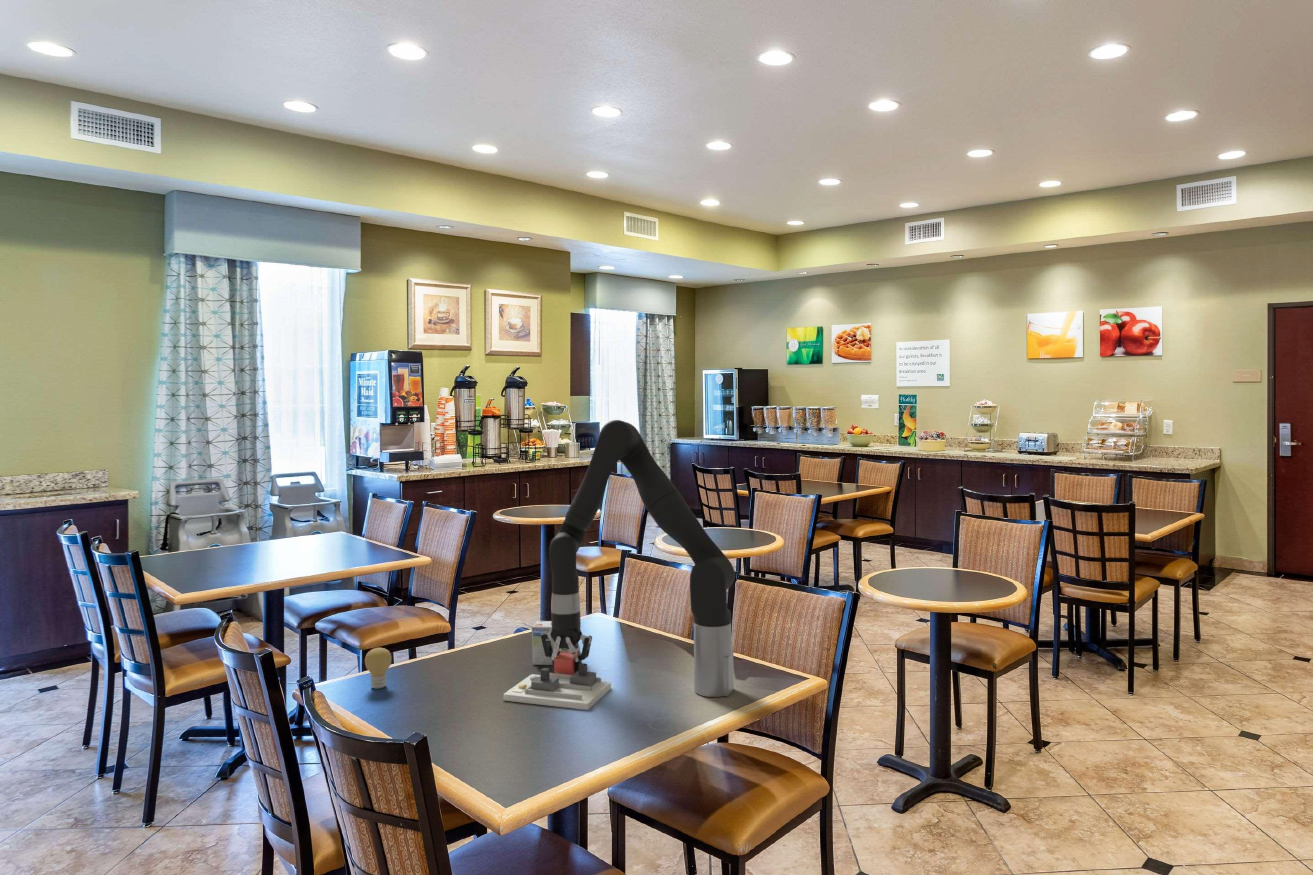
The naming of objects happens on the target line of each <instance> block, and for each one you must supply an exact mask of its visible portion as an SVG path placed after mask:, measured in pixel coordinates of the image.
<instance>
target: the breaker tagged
mask: <svg viewBox="0 0 1313 875" xmlns="http://www.w3.org/2000/svg"><path fill="white" fill-rule="evenodd" d="M540 675H541V676H539V677H538V678H536V679H535V680H534V681H532V682H531V689H534V690H543V691H553V692H554V691H555V690H556V689H558V688H559V677H550V668H548V667H543V668H541V669H540Z"/></svg>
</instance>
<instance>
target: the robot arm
mask: <svg viewBox="0 0 1313 875" xmlns="http://www.w3.org/2000/svg"><path fill="white" fill-rule="evenodd" d="M619 461H620V462H621V463H622V464H623V465H624V467H625V469H626V470H627V471H628V472H629V474H630V475H631V477H632V479H633V480H634V484H635V485H636V488H637V492H638V494H639V496H640V499H641V501H642V503H643V505H644V507H645V509H646V510H647V512H648V514H650V516H651V518H652V519H653V521H654V522H655V524H656V525H657V526H658V527H659V528H660V530H662V531H663V533H664V534H666V535H667V536H669V537H670V538H671V539H672V540H674V541H675V542H676V543H677V544H679V545H680V546H681V547H682V549H684V551H686V553H687V554H688V557H690V559H691V560H692V562H693V564H694V565H693V566H692V568H691V571H690V575H689V595H690V596H689V599H690V609H691V613H692V615H693V663H694V664H693V673H694V674H693V676H694V677H693V678H694V679H693V680H694V681H693V687H694V688H693V689H694V692H695V693H696V694H697V695H699V696H703V697H707V698H708V697H710V698H720V697H729V696H730V695H731V693H732V692H733V690H735V689H734V686H735V685H734V684H735V682H734V680H735V679H734V673H735V672H734V669H735V668H734V650H732V612H731V610H730V608H729V609H728V607H727V594H726V592H727V590H728V589H730V587H731V586H733V584H734V583H735V579H736V573H735V569H734V565H733V564H732V563H731V561H730V559H729V558H728V557H727V556H726V554H725V553H724V552H723V551H722V550H721V549H720V548H719V546H718V544H717V545H716V543H715V542H714V541H713V539H712V538H711V537H710V536H709V535H708V533H707V532H706V530H705V528H704V527H703V526H702V524H701V522H700V521H699V520H698V518H697V517H696V515H695V513H694V512H693V511H692V509H691V508H690V507H689V504H688V503H687V501H686V499H684V496H682V494H681V493H680V491H679V490H678V489H677V487H676V486H675V484H673V482H672V481H671V479H670V478H669V477H668V475H667V474H666V473H665V471H663V469H662V468H661V467H660V466H659V464H658V463H657V462H656V460H655V459H654V457H653V456H652V454H651V452H650V450H649V448H648V447H647V445H646V443H645V441H644V439H643V437H642V435H641V434H640V432H639V431H638V429H637V428H636V426H634V425H633V424H631V423H630V422H628V421H627V422H626V421H624V420H620V419H612V420H610V421H608V422H607V423H605V424H603V427H601V429H600V432H599V435H598V438H597V441H596V444H595V446H594V450H593V453H592V457H591V459H590V462H589V464H588V467H587V470H586V471H585V474H584V477H583V479H582V481H581V483H580V486H579V488H578V489H577V492H576V494H575V495H574V497H573V499H572V501H571V503H570V505H569V507H568V508H567V512H566V514H565V517H564V521H563V522H562V524H561V526H560V527H559V529H558V531H557V533H556V535H555V536H554V537H553V538H552V539H551V541H550V543H549V547H548V550H549V551H548V553H549V564H550V571H551V599H550V600H551V601H550V604H551V605H550V609H551V614H550V615H551V618H550V619H551V620H550V621H552V631H551V632H550V633H548V632H546V633H544V634H543V635H541V640H542V644H543V648H544V652H545V656H546V657H550V658H552V664H553V665H552V671H553V672H554V658H556V657H557V656H558V655H560V652H561V650H562V649H563V648H566V649H570V652H571V654H572V655H573V658H574V660H575V662H574V673H576V672H577V671H579V665H580V664H581V663H583V662H582V661H584V660H586V659H587V658H589V656H590V651H591V645H592V641H593V636H592V635H591V634H590V635H585V634H583V632H582V630H581V624H582V623H581V620H582V619H581V596H580V583H579V582H580V579H579V573H578V570H577V553H578V551H579V550H580V547H581V545H582V543H583V541H584V538H585V536H586V534H587V531H588V529H589V528H590V527H591V525H592V523H593V521H594V519H595V517H596V515H597V513H598V511H599V509H600V506H601V505H602V502H603V499H604V496H605V492H606V489H607V484H608V481H609V479H610V477H611V474H612V472H613V470H614V468H615V466H616V465H617V463H618V462H619ZM551 637H552V639H553V640H554V642H555V646H554V649H552V645H551V641H550V640H551ZM580 640H581V644H582V649H581V647H580V644H579V642H580Z"/></svg>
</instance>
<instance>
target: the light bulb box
mask: <svg viewBox="0 0 1313 875" xmlns="http://www.w3.org/2000/svg"><path fill="white" fill-rule="evenodd" d="M551 631H552V620H549V621H548V620H536V621H535V623H534V624H533V625H532V626H531V657H532V658H531V661H532V662H531V663H532V665H533V666H534V665H535V666H536V665H537V666H538V665H539V666H540V665H541V666H548V665H549V666H553V664H552V658H550V657H546V656H545V652H544V648H543V644H542V640H541V635H543V634H544V633H546V632H548V633H550V632H551ZM550 641H551V645H552V649H554V646H555V642H554V640H553V639H552V637H551V640H550ZM561 653H570V654H571V652H570V649H566V648H563V649H562V650H561V652H560V654H561Z"/></svg>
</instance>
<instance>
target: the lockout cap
mask: <svg viewBox="0 0 1313 875" xmlns="http://www.w3.org/2000/svg"><path fill="white" fill-rule="evenodd" d="M574 662H575V660H574V658H573V655H572V654H570V653H561V654H560V655H558V656H557V657H556V658H554V671H553V673H559V674H569V675H573V674H574Z"/></svg>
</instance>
